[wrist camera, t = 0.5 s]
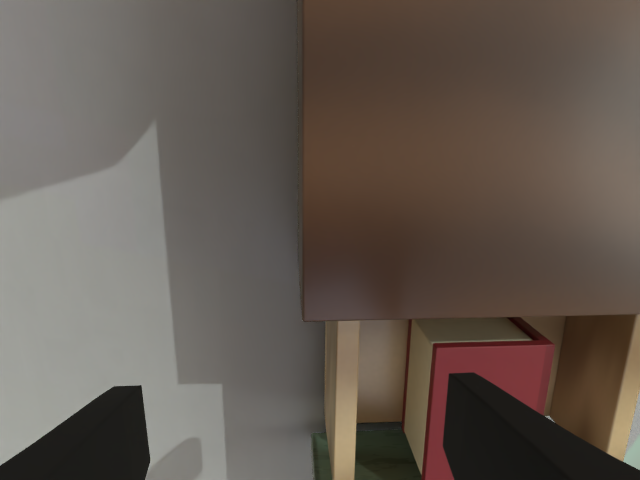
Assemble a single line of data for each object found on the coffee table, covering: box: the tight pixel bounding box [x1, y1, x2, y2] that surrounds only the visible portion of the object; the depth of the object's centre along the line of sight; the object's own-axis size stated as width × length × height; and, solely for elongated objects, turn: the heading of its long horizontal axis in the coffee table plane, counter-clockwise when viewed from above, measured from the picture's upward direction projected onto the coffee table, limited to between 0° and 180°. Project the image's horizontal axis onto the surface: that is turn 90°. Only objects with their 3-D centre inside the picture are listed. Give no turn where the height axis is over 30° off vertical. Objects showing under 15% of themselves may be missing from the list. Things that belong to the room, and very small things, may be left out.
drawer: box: [311, 314, 640, 480], centre depth 18 cm, size 17×13×5 cm
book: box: [401, 317, 555, 480], centre depth 17 cm, size 6×4×3 cm
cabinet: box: [297, 0, 640, 322], centre depth 15 cm, size 14×14×6 cm
